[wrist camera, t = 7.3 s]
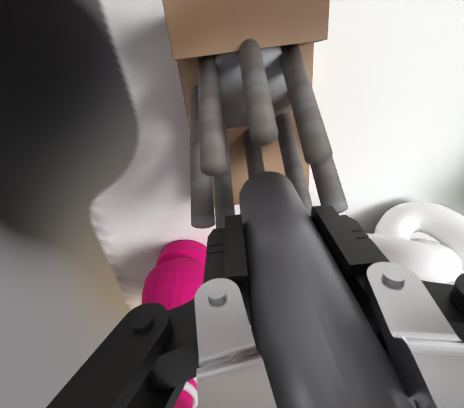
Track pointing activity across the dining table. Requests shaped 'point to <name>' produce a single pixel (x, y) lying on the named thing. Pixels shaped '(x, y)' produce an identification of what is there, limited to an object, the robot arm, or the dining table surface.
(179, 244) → the pepper mill
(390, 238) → the white knot
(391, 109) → the dining table surface
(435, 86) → the dining table surface
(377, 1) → the dining table surface
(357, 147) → the dining table surface
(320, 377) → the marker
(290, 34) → the knife block
